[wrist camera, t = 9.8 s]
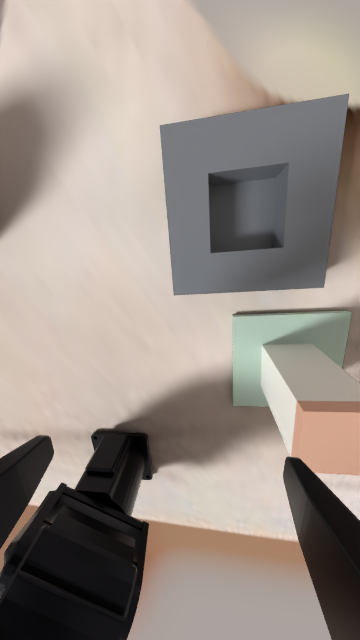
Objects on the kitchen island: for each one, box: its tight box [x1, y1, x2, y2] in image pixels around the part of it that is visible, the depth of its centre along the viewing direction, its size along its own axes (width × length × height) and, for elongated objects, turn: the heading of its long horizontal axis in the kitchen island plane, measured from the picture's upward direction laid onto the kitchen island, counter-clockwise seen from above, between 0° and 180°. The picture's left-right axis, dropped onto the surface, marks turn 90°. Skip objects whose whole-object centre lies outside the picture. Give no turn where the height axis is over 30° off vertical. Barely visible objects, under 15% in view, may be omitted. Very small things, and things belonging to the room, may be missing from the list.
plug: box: [260, 344, 360, 475], centre depth 14 cm, size 4×4×8 cm
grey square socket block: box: [160, 94, 349, 295], centre depth 14 cm, size 10×10×3 cm
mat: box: [233, 311, 352, 407], centre depth 18 cm, size 9×9×1 cm
